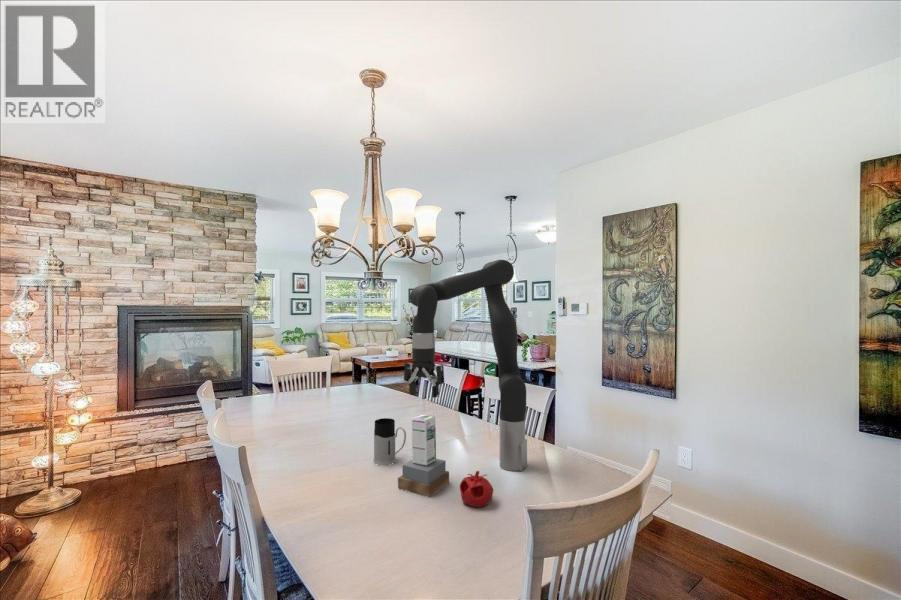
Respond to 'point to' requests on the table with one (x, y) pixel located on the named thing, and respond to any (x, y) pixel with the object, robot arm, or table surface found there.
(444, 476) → the walnut base block
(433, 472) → the charcoal top block
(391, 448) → the grey mug
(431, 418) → the syrup box
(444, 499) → the table surface
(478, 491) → the pomegranate
